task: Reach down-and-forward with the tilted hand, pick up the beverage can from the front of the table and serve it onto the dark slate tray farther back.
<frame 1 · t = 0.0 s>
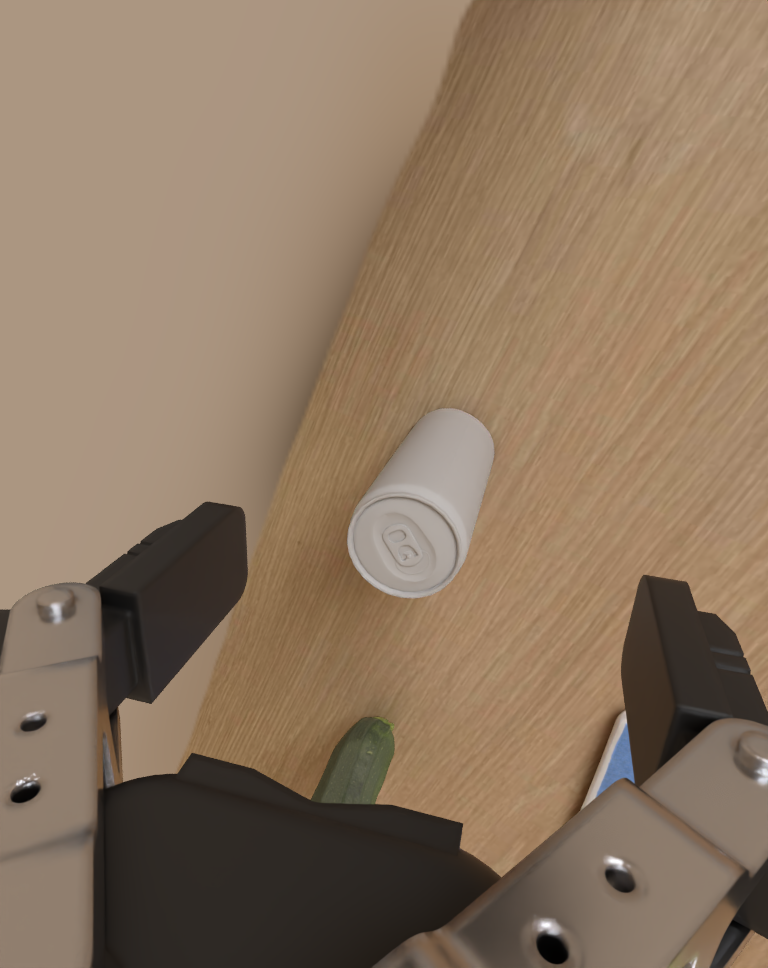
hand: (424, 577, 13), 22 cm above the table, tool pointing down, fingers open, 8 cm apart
beverage can: (452, 445, 35), on the table
vegetable: (383, 710, 44), on the table
tablet: (673, 836, 42), on the table
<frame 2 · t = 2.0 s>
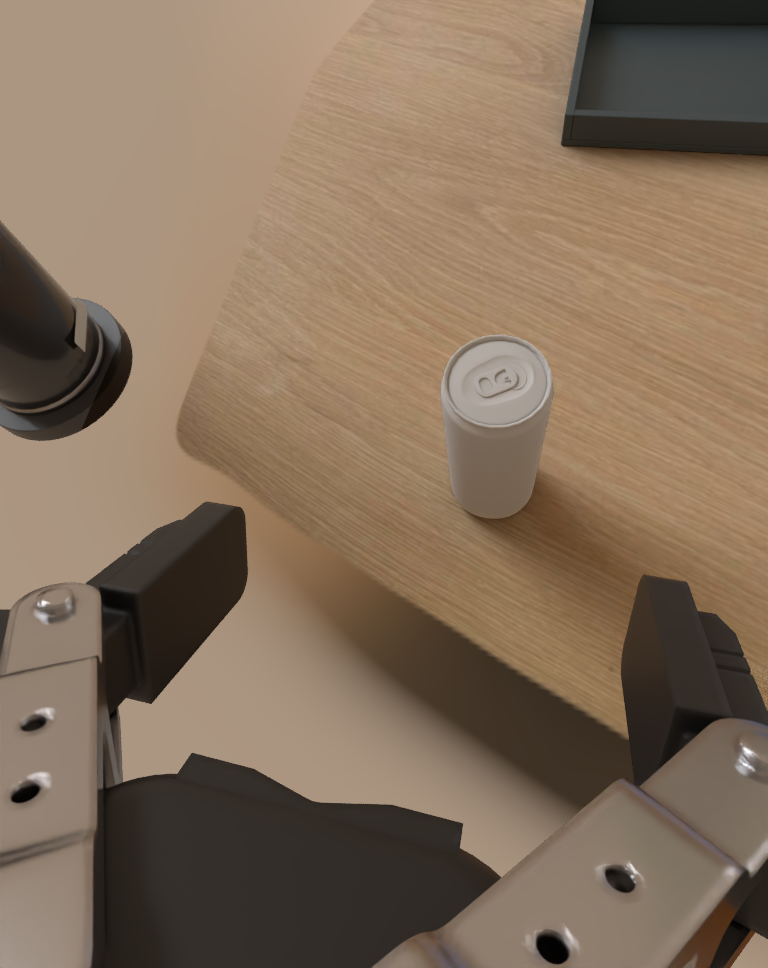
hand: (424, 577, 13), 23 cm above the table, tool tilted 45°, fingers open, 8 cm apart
serving tray: (691, 85, 47), on the table
beverage can: (491, 485, 38), on the table
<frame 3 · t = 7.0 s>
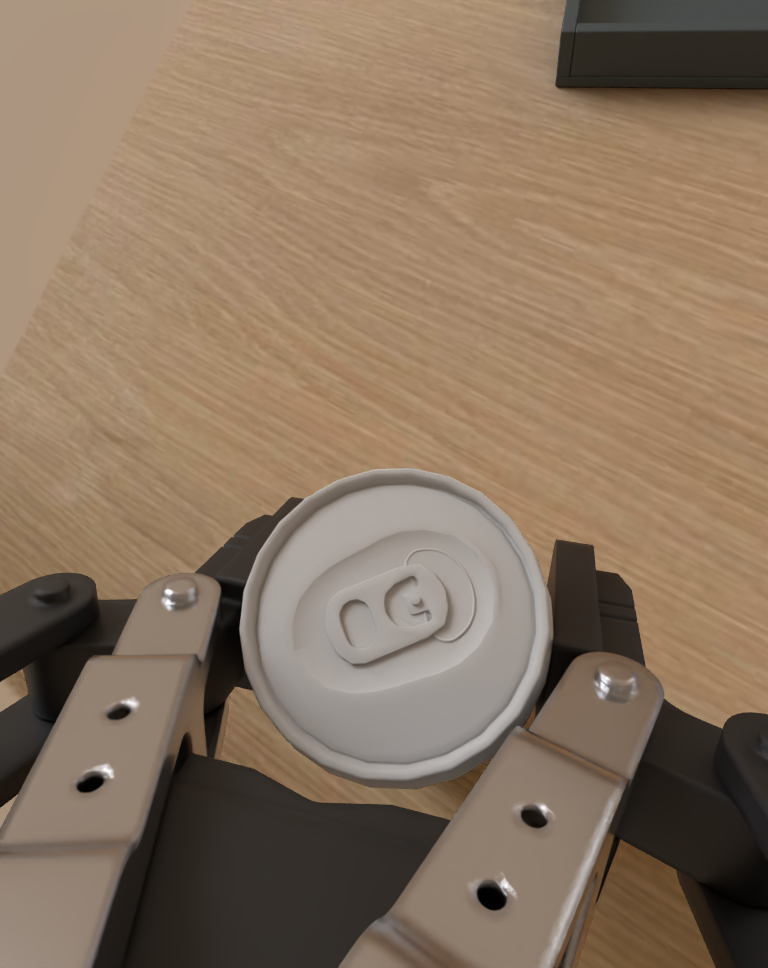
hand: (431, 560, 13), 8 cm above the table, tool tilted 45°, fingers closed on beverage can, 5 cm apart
beverage can: (440, 685, 20), on the table, touching gripper
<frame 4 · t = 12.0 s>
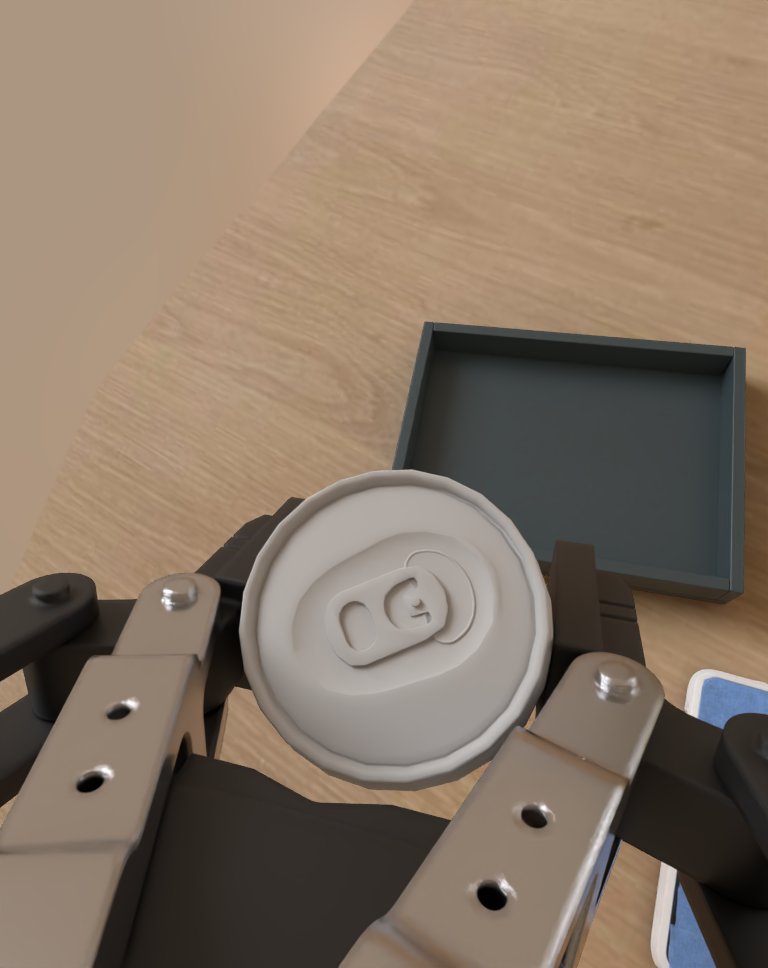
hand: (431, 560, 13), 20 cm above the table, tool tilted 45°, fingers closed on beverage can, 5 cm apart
serving tray: (559, 459, 35), on the table
beverage can: (440, 686, 20), point 12 cm above the table, touching gripper
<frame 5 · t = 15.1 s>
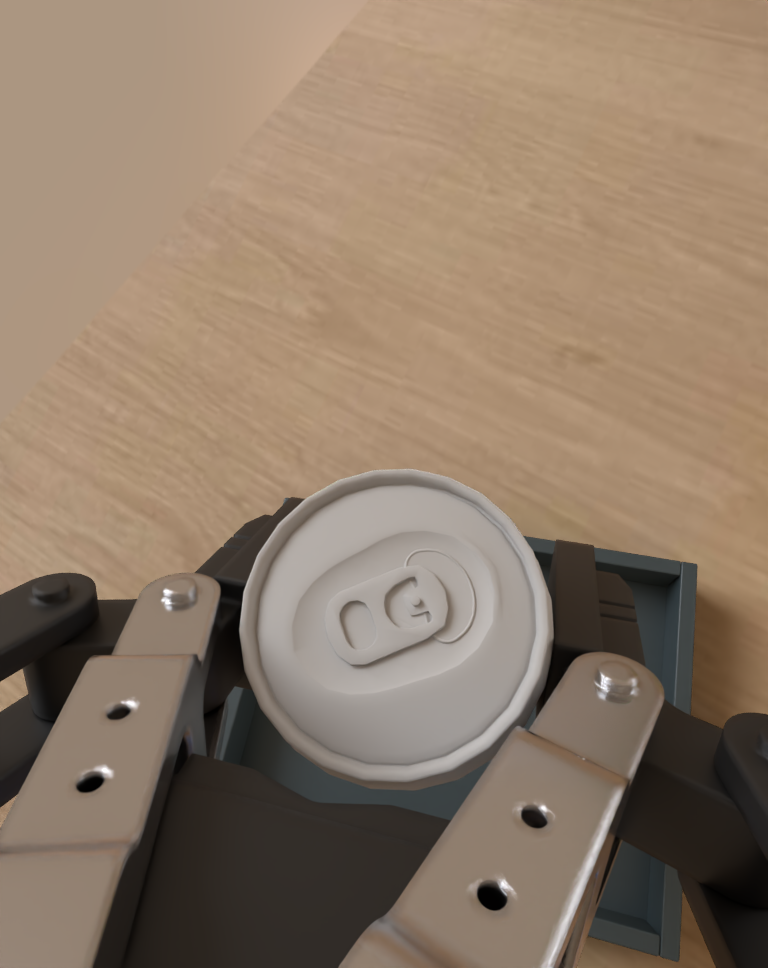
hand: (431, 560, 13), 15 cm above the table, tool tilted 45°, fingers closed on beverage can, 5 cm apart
serving tray: (451, 695, 26), on the table
beverage can: (440, 685, 20), point 7 cm above the table, touching gripper
when the fingers open (9 cm above the table, at t = 17.3 s): beverage can stays where it is, resting on serving tray.
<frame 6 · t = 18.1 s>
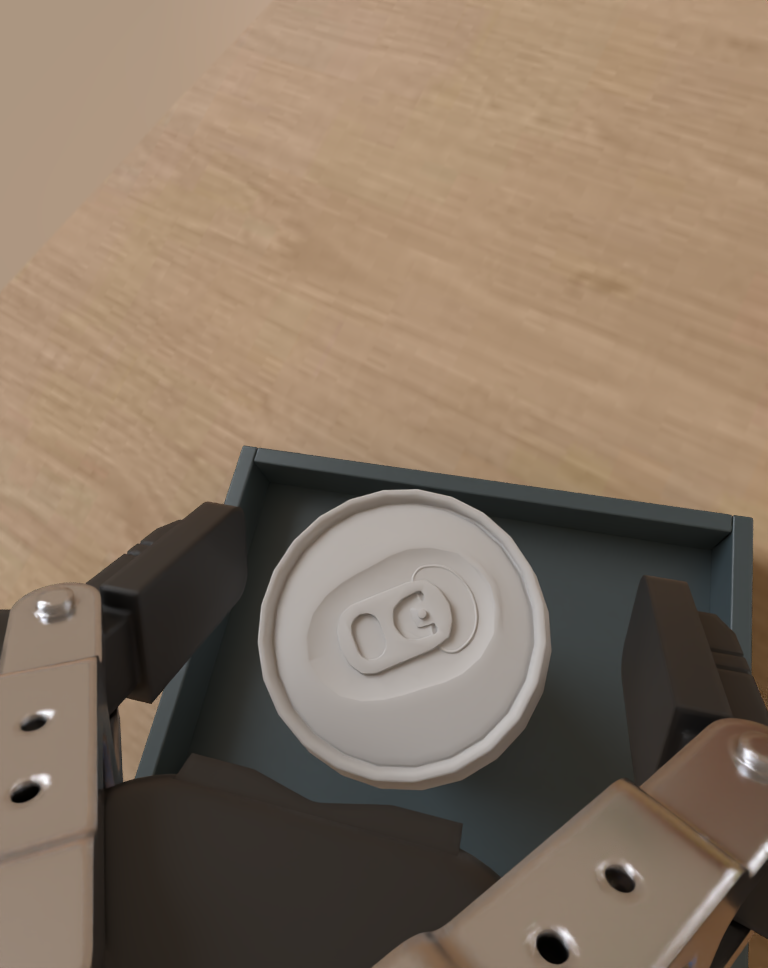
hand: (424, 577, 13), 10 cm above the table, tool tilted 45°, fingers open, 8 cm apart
serving tray: (445, 684, 21), on the table
beverage can: (444, 688, 21), resting on serving tray
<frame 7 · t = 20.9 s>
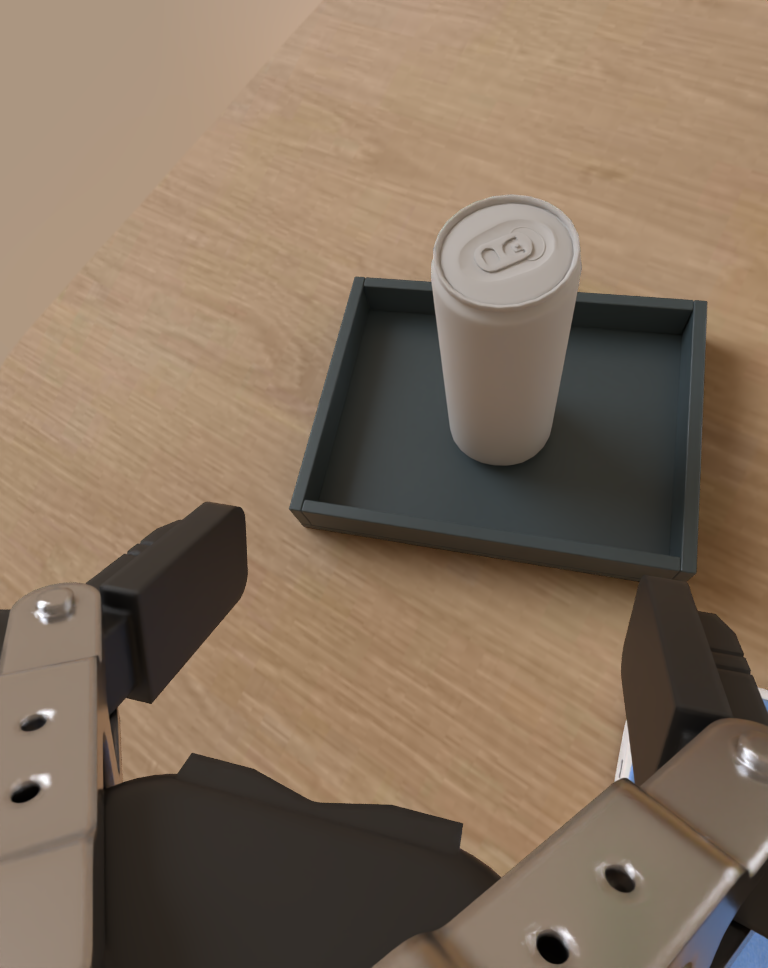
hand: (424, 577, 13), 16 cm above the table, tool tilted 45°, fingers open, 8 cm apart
serving tray: (500, 428, 31), on the table
beverage can: (500, 428, 31), resting on serving tray
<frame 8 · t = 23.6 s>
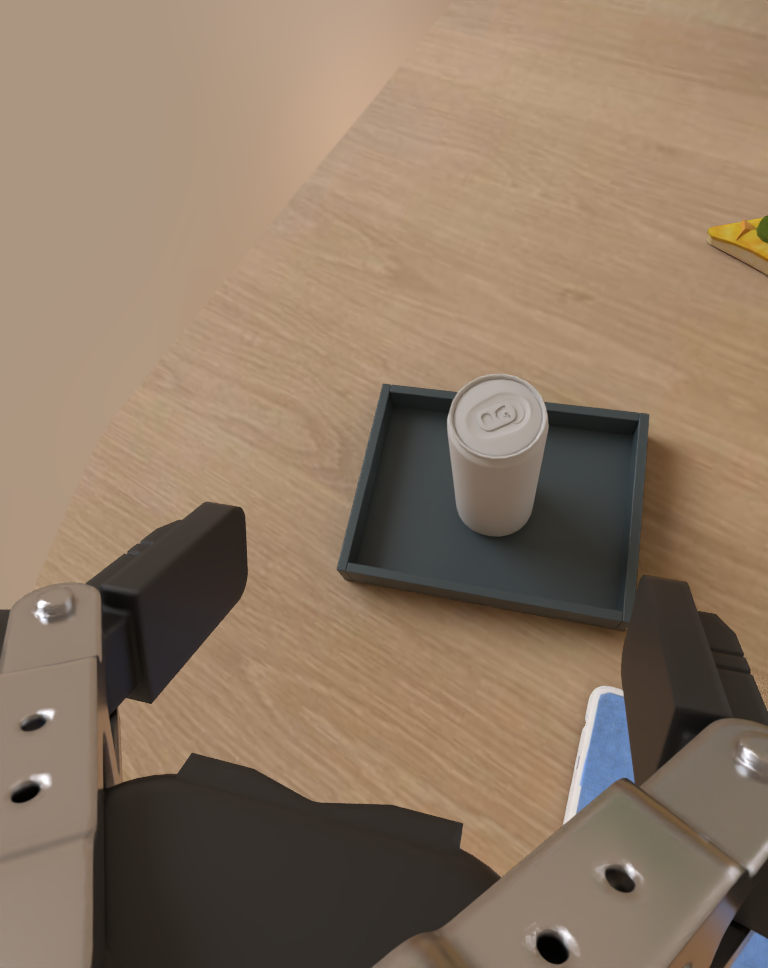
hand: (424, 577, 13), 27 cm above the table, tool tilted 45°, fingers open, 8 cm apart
serving tray: (494, 504, 41), on the table
beverage can: (494, 505, 41), resting on serving tray
tablet: (760, 864, 32), on the table
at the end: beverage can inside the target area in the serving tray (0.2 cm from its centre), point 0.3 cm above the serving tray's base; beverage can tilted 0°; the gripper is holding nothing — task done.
